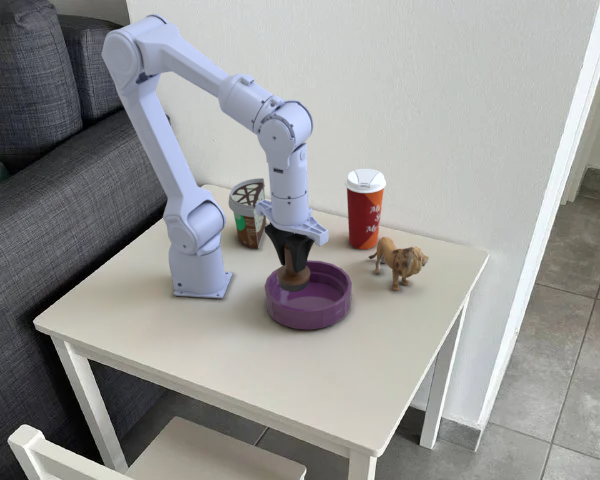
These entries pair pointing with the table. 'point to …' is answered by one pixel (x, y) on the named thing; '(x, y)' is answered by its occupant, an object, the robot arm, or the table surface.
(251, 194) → the food container
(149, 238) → the table surface
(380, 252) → the lion figurine
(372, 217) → the paper cup
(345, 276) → the bowl
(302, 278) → the brown stamp
